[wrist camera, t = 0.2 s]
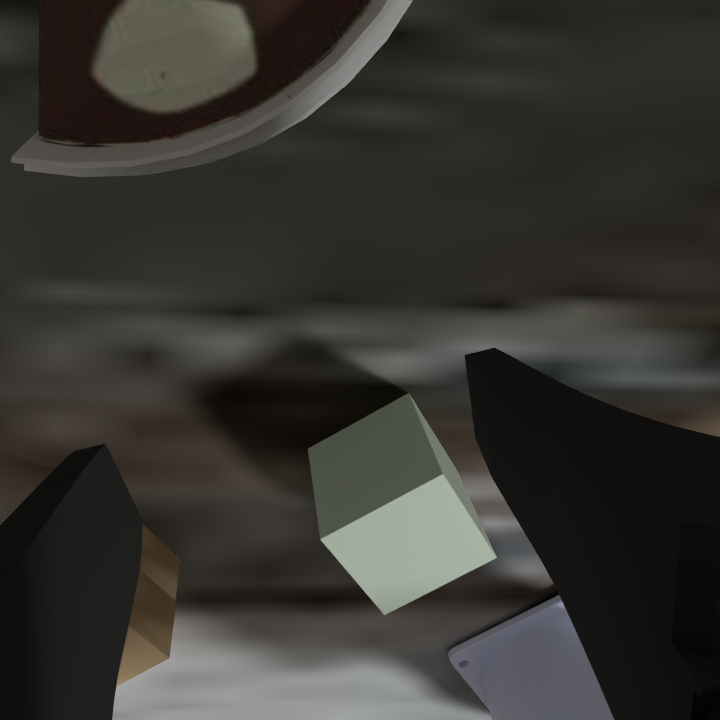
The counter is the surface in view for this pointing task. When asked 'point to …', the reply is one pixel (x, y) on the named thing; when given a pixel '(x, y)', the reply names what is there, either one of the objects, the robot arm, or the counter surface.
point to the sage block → (395, 507)
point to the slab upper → (147, 629)
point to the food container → (188, 77)
